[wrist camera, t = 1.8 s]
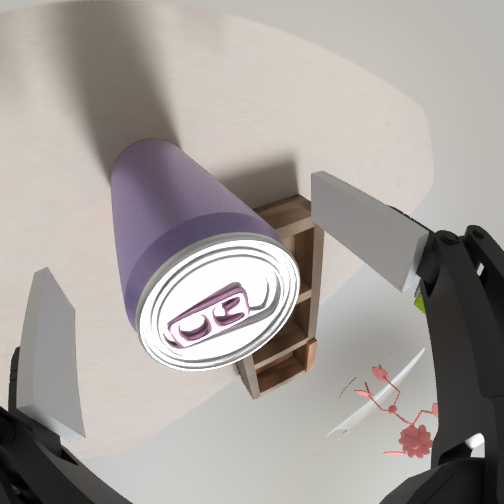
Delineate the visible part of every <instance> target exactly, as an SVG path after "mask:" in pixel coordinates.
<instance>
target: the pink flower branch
mask: <svg viewBox="0 0 504 504" xmlns="http://www.w3.org/2000/svg"><path fill="white" fill-rule="evenodd" d="M379 367H380V368H378V367H377V368H376V367H373V374H374V376H375V377H376V378H377V379H378V380H381V381H387V382H388V383H389V384H391V383H390V382H389V381H388V374H387V372H386V371H385V370H383V369H382V368H381V365H379ZM352 381H353V380H352ZM365 385H366V388H367V391H368V392H366V391H361V390H355V392H357V393H358V394H360V395H362V396H366V397H370V398H371V399H372V396H373V395H372V394H371V393H370V392H369V389H368V386H367V383H366V382H365ZM391 385H392V384H391ZM392 386H393V387H394V388H395V389H396V390H397V391H399V390H398V389H397V388H396V387H395V386H394V385H392ZM344 390H345V389H344ZM344 390H343V391H344ZM399 393H400V391H399ZM398 396H399V394H398ZM398 396H397V398H396V401H397V399H398ZM372 400H373V399H372ZM373 401H374V400H373ZM396 401H395V403H396ZM374 402H375V401H374ZM375 403H376V402H375ZM395 403H394V405H392V406H390V407H389V409H388V410H383V409H382V408H380V406H379V405H378V404H377V403H376V405H377V406H378V407H379V408H380V409H381V410H383V411H389V413H394V414H395V415H397V416H398V417H399V418H400V419H401V420H402V421H404V422H405V423H407V424H410V426H409V427H408V428H406V429H404V430H402V432H401V438H400V439H399V443H400V444H403V451H404V452H384V454H390V455H401V454H405V453H406V451H407V453H408V456H409V457H410V458H412V457H413V456H414V455H416V456H417V457H418V458H423V454H424V455H427V454H429V453H430V451H429V449H428V448H431V447H432V444H433V441H432V440H430V433H429V432H426V428H425V426H424V425H420V426H419V428H418V429H417V428H415V427H414V424H415V422H416V421H417V419H418V418H419V416H420V414H421V413H422V412H426V413H431V414H433V415H434V416H436V417H438V403H434V404H433V407H432V412H430V411H424V410H423V411H422V410H421V412H420V413H419V415H418V417H417V418H416V420H415V421H414V423H412V424H411V423H409V422H407V421H405V420H404V419H403V418H401V417H400V416H399V415H398V414H396V413H395V411H396V410H397V408H396V406H395ZM402 434H403V435H404V436H403V435H402Z"/></svg>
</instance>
